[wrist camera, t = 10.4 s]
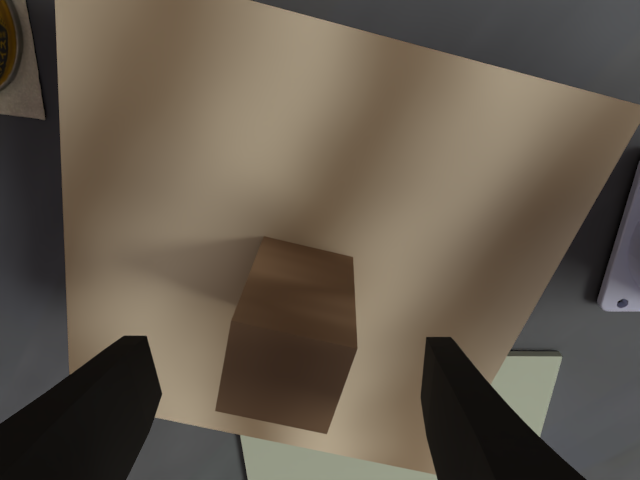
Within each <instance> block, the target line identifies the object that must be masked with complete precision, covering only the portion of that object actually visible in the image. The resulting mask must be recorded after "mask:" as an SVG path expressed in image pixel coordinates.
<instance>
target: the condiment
mask: <svg viewBox="0 0 640 480" xmlns="http://www.w3.org/2000/svg"><path fill="white" fill-rule="evenodd" d="M0 114H5V115H11V116H21V117H29V118H36V119H41V120H45V113H44V108H43V102H42V96H41V87H40V83H39V77H38V68H37V61H36V56H35V51H34V43H33V37H32V32H31V27H30V22H29V17H28V11H27V7H26V0H0Z"/></svg>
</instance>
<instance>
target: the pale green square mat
mask: <svg viewBox="0 0 640 480" xmlns="http://www.w3.org/2000/svg"><path fill="white" fill-rule="evenodd" d="M561 360H562V355H561V354H560V352H559V351H509V353H508V355H507V357H506V358H505V360H504V362H503V364H502V365H501V367H500V369H499V371H498V372H497V374H496V376H495V378H494V379H493V381H492V383H491V386H492V387H493V388H494V389H495V390H496V391H497V393H498V394H499V395H500V396H501V397H502V398H503V399H504V400H505V401H506V403H507V404H508V405H509V406H510V407H511V408H512V409H513V410H514V411H515V412H516V413H517V414H518V416H519V417H520V418H521V419H522V420H523V421H524V422H525V423H526V424H527V425H528V426H529V427H530V428H531V429H532V430H533V431H534V432H535V433H536V434H537V435H538V436H539V437H540V435H541V431H542V427H543V424H544V420H545V417H546V413H547V410H548V406H549V403H550V399H551V395H552V392H553V388H554V385H555V381H556V378H557V374H558V370H559V367H560V363H561ZM240 437H241V443H242V449H243V455H244V460H245V466H246V472H247V478H248V480H438V479H437V476H436V475H435V474H430V473H425V472H420V471H415V470H410V469H405V468H400V467H395V466H390V465H386V464H381V463H376V462H371V461H366V460H361V459H356V458H351V457H346V456H342V455H337V454H332V453H327V452H322V451H317V450H312V449H307V448H302V447H297V446H293V445H288V444H283V443H278V442H273V441H268V440H263V439H258V438H253V437H248V436H244V435H240Z"/></svg>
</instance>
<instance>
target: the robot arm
mask: <svg viewBox="0 0 640 480" xmlns="http://www.w3.org/2000/svg"><path fill="white" fill-rule="evenodd" d="M621 299H623V300H622V301H621V302H620V303H618V301H619V300H621ZM597 303H598V305H599V306H600V307H601V309H603V310H604V311H640V161H639V164H638V167H637V171H636V174H635V177H634V180H633V184H632V187H631V190H630V194H629V197H628V200H627V203H626V207H625V210H624V213H623V217H622V220H621V223H620V226H619V230H618V233H617V236H616V240H615V243H614V246H613V249H612V253H611V256H610V259H609V263H608V266H607V269H606V273H605V276H604V279H603V282H602V286H601V289H600V292H599V296H598V299H597ZM161 396H162V391H161V387H160V383H159V380H158V376H157V372H156V368H155V365H154V361H153V357H152V354H151V350H150V346H149V342H148V339H147V336H123V337H121V338H120V339H118V340H117V341H115V342H114V343H112V344H111V345H110V346H108V347H107V348H105V349H104V350H103V351H101V352H100V353H99V354H97V355H96V356H95V357H93V358H92V359H91V360H89V361H88V362H87V363H85V364H84V365H83V366H81V367H80V368H79V369H77V370H76V371H74V372H73V373H72V374H70V375H69V376H68V377H66V378H65V379H64V380H62V381H61V382H59V383H58V384H57V385H55V386H54V387H53V388H51V389H50V390H49V391H47V392H46V393H44V394H43V395H41V396H40V397H39V398H37V399H36V400H34V401H33V402H31V403H30V404H28V405H27V406H25V407H24V408H23V409H21V410H20V411H18V412H17V413H15V414H14V415H12V416H11V417H9V418H8V419H7V420H5V421H4V422H2V423H1V424H0V480H126V479H127V477H128V475H129V473H130V471H131V469H132V467H133V465H134V463H135V460H136V458H137V456H138V454H139V452H140V450H141V448H142V446H143V444H144V442H145V440H146V438H147V436H148V433H149V431H150V428H151V426H152V423H153V420H154V417H155V415H156V412H157V409H158V406H159V402H160V399H161ZM420 398H421V405H422V412H423V419H424V425H425V431H426V437H427V441H428V445H429V449H430V453H431V457H432V461H433V464H434V468H435V472H436V476H437V479H438V480H586V479H585V478H584V477H583V476H581V475H580V474H579V473H578V472H577V471H576V470H575V469H574V468H572V467H571V466H570V465H569V464H568V463H567V462H566V461H565V460H563V459H562V458H561V457H560V456H559V455H558V454H557V453H556V452H555V451H554V450H553V449H552V448H550V447H549V446H548V445H547V444H546V443H545V442H544V441H543V440H542V439H541V438H540V437H539V436H538V435H537V434H536V433H535V432H534V431H533V430H532V429H531V428H530V427H529V426H528V425H527V424H526V423H525V422H524V421H523V420H522V419H521V418H520V417H519V416H518V414H517V413H516V412H515V411H514V410H513V409H512V408H511V407H510V406H509V405H508V404H507V403H506V401H505V400H504V399H503V398H502V397H501V396H500V395H499V394H498V393H497V391H496V390H495V389H494V388H493V387H492V386H491V385H490V383H489V382H488V381H487V380H486V379H485V378H484V376H483V375H482V374H481V373H480V372H479V370H478V369H477V368H476V367H475V366H474V364H473V363H472V362H471V361H470V359H469V358H468V357H467V356H466V354H465V353H464V352H463V351H462V349H461V348H460V347H459V346H458V344H457V343H456V342H455V341H454V340H453V339H452V338H451V337H426V344H425V354H424V365H423V375H422V386H421V396H420Z"/></svg>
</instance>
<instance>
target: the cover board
mask: <svg viewBox="0 0 640 480" xmlns="http://www.w3.org/2000/svg"><path fill="white" fill-rule="evenodd" d="M55 17H56V43H57V68H58V94H59V119H60V145H61V171H62V196H63V222H64V247H65V273H66V298H67V324H68V349H69V375H70V374H72V373H73V372H74V371H76V370H77V369H79V368H80V367H81V366H83V365H84V364H85V363H87V362H88V361H89V360H91V359H92V358H93V357H95V356H96V355H97V354H99V353H100V352H101V351H103V350H104V349H105V348H107V347H108V346H110V345H111V344H112V343H114V342H115V341H117V340H118V339H120V338H121V337H123V336H147V339H148V342H149V346H150V350H151V354H152V357H153V361H154V365H155V368H156V372H157V376H158V380H159V383H160V387H161V391H162V396H161V399H160V402H159V406H158V409H157V412H156V415H155V418H160V419H165V420H170V421H175V422H180V423H185V424H190V425H195V426H200V427H204V428H209V429H214V430H219V431H224V432H229V433H234V434H239V435H244V436H248V437H253V438H258V439H263V440H268V441H273V442H278V443H283V444H288V445H293V446H297V447H302V448H307V449H312V450H317V451H322V452H327V453H332V454H337V455H342V456H346V457H351V458H356V459H361V460H366V461H371V462H376V463H381V464H386V465H390V466H395V467H400V468H405V469H410V470H415V471H420V472H425V473H430V474H435V475H436V472H435V468H434V464H433V461H432V457H431V453H430V449H429V445H428V441H427V437H426V431H425V425H424V419H423V412H422V405H421V398H420V396H421V386H422V375H423V365H424V354H425V344H426V337H451V338H452V339H453V340H454V341H455V342H456V343H457V344H458V346H459V347H460V348H461V349H462V351H463V352H464V353H465V354H466V356H467V357H468V358H469V359H470V361H471V362H472V363H473V364H474V366H475V367H476V368H477V369H478V370H479V372H480V373H481V374H482V375H483V376H484V378H485V379H486V380H487V381H488V382H489V383H490V385H491V383H492V381H493V379H494V378H495V376H496V374H497V372H498V371H499V369H500V367H501V365H502V364H503V362H504V360H505V358H506V357H507V355H508V353H509V351H510V350H511V348H512V346H513V344H514V343H515V341H516V339H517V337H518V336H519V334H520V332H521V330H522V329H523V327H524V325H525V323H526V322H527V320H528V318H529V316H530V315H531V313H532V311H533V309H534V308H535V306H536V304H537V302H538V301H539V299H540V297H541V295H542V294H543V292H544V290H545V288H546V287H547V285H548V283H549V281H550V280H551V278H552V276H553V274H554V272H555V271H556V269H557V267H558V265H559V264H560V262H561V260H562V258H563V257H564V255H565V253H566V251H567V250H568V248H569V246H570V244H571V243H572V241H573V239H574V237H575V236H576V234H577V232H578V230H579V229H580V227H581V225H582V223H583V222H584V220H585V218H586V216H587V215H588V213H589V211H590V209H591V208H592V206H593V204H594V202H595V201H596V199H597V197H598V195H599V194H600V192H601V190H602V188H603V187H604V185H605V183H606V181H607V180H608V178H609V176H610V174H611V173H612V171H613V169H614V167H615V165H616V164H617V162H618V160H619V158H620V157H621V155H622V153H623V151H624V150H625V148H626V146H627V144H628V143H629V141H630V139H631V137H632V136H633V134H634V132H635V130H636V129H637V127H638V125H639V123H640V105H638V104H634V103H631V102H627V101H623V100H620V99H616V98H612V97H608V96H605V95H601V94H597V93H593V92H590V91H586V90H582V89H579V88H575V87H571V86H567V85H564V84H560V83H556V82H553V81H549V80H545V79H541V78H538V77H534V76H530V75H526V74H523V73H519V72H515V71H512V70H508V69H504V68H500V67H497V66H493V65H489V64H485V63H482V62H478V61H474V60H471V59H467V58H463V57H459V56H456V55H452V54H448V53H445V52H441V51H437V50H433V49H430V48H426V47H422V46H418V45H415V44H411V43H407V42H404V41H400V40H396V39H392V38H389V37H385V36H381V35H377V34H374V33H370V32H366V31H363V30H359V29H355V28H351V27H348V26H344V25H340V24H336V23H333V22H329V21H325V20H322V19H318V18H314V17H310V16H307V15H303V14H299V13H296V12H292V11H288V10H284V9H281V8H277V7H273V6H269V5H266V4H262V3H258V2H255V1H251V0H55Z"/></svg>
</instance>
